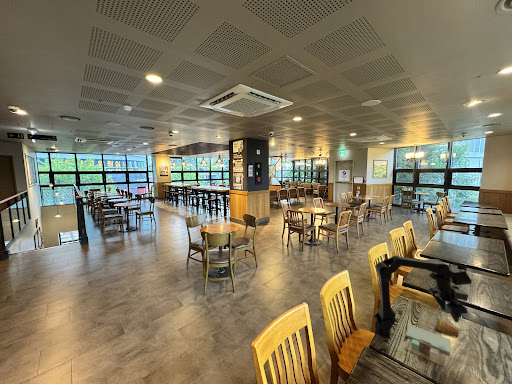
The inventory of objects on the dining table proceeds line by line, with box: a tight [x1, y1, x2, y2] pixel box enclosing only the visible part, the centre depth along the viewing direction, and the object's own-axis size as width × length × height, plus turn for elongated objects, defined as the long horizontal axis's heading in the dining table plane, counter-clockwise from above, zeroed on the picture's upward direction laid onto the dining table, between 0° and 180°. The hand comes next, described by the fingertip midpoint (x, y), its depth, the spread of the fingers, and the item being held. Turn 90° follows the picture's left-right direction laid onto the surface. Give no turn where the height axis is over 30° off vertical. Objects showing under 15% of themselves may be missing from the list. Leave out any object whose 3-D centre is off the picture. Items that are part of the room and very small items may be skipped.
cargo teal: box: [411, 339, 419, 351], centre depth 102 cm, size 3×3×3 cm
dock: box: [405, 324, 451, 355], centre depth 107 cm, size 17×10×2 cm, turn 45°
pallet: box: [405, 338, 446, 367], centre depth 99 cm, size 14×7×7 cm, turn 44°
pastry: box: [434, 319, 459, 337], centre depth 113 cm, size 9×7×4 cm
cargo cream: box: [430, 347, 440, 361], centre depth 96 cm, size 3×3×3 cm
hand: (450, 315), depth 104 cm, fingers open, 9 cm apart
